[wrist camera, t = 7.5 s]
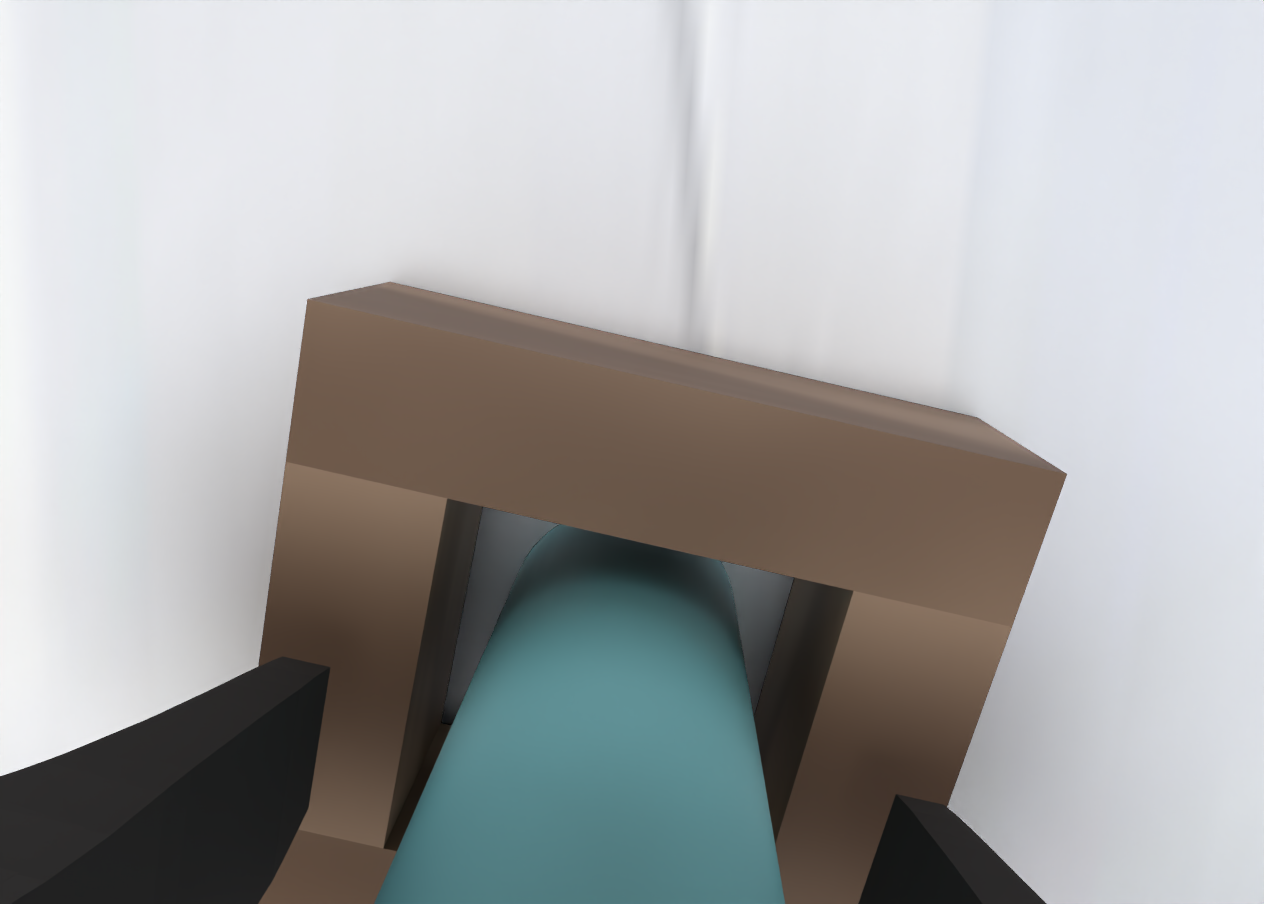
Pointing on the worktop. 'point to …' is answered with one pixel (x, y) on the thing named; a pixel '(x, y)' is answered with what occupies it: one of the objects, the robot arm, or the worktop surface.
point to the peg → (599, 744)
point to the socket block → (648, 513)
